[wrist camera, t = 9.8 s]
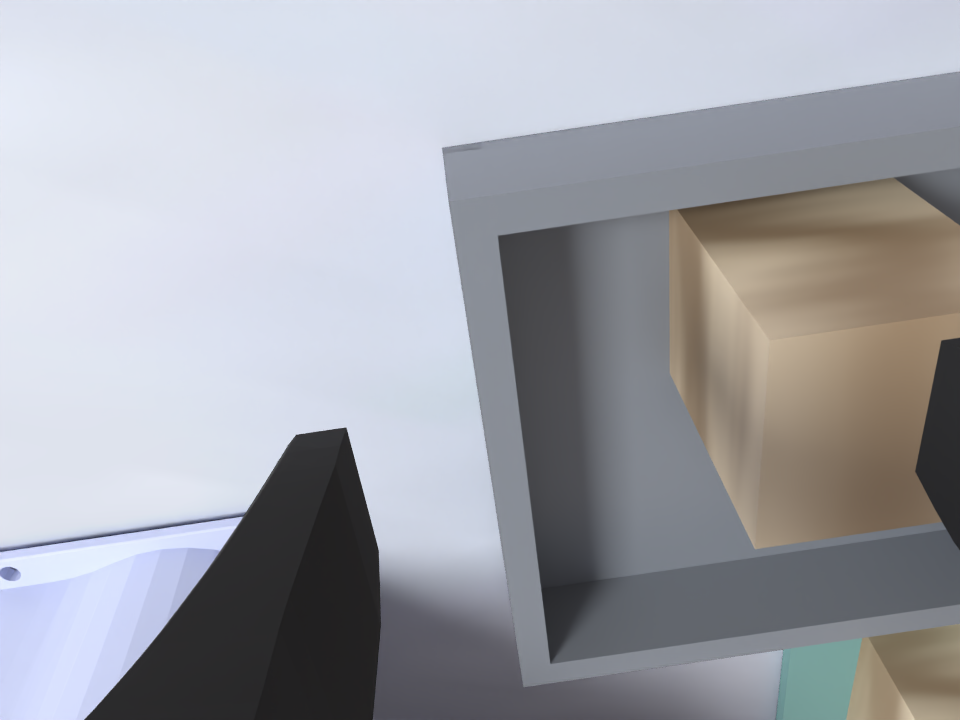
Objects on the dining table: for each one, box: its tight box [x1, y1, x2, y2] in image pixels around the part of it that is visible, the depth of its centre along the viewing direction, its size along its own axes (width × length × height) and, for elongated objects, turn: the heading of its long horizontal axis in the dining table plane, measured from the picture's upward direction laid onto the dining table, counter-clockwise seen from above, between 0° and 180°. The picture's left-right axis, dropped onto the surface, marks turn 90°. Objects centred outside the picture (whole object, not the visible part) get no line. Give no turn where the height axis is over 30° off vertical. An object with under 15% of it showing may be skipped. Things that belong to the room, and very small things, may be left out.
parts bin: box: [442, 72, 960, 687], centre depth 20 cm, size 14×14×3 cm
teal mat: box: [776, 638, 862, 720], centre depth 28 cm, size 9×9×1 cm
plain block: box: [669, 178, 960, 549], centre depth 17 cm, size 5×5×6 cm
